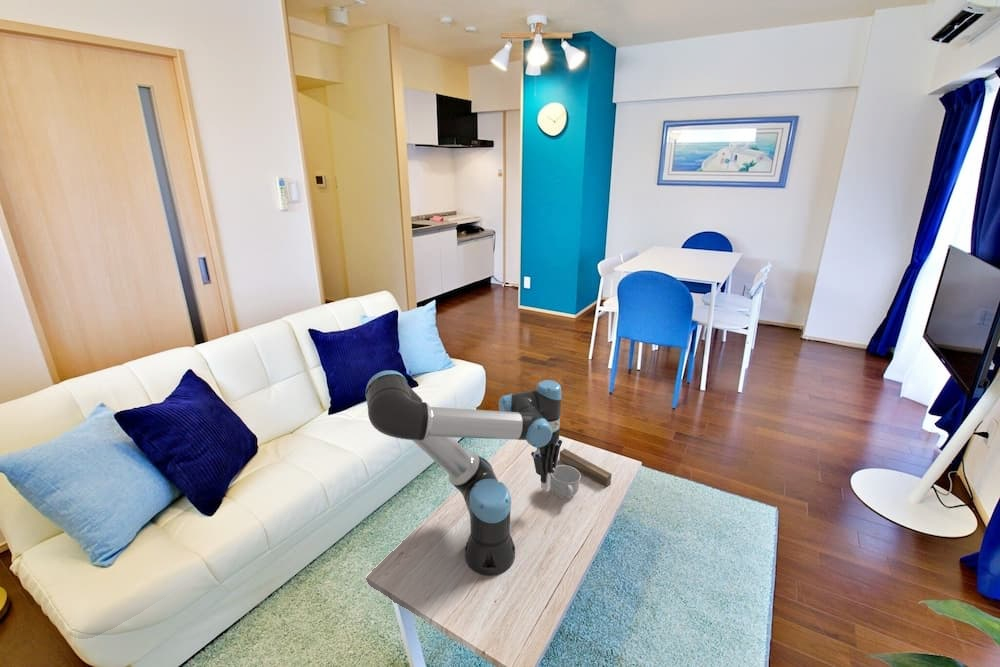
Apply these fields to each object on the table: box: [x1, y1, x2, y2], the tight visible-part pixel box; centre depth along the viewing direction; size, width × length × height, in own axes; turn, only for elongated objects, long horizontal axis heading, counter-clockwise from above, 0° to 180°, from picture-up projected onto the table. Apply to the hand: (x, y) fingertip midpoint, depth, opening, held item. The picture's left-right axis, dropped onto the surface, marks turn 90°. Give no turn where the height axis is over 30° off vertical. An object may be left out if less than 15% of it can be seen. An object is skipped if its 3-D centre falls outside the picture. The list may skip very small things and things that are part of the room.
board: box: [558, 448, 612, 489], centre depth 178 cm, size 3×22×4 cm, turn 44°
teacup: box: [550, 464, 582, 498], centre depth 166 cm, size 14×11×8 cm
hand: (545, 488), depth 157 cm, fingers closed
